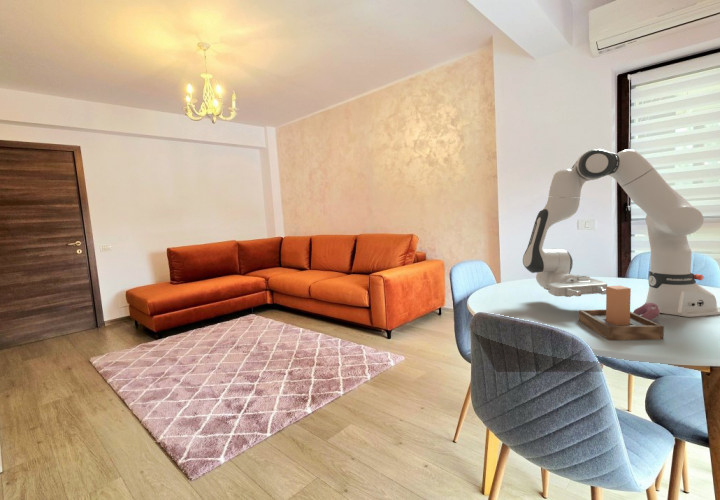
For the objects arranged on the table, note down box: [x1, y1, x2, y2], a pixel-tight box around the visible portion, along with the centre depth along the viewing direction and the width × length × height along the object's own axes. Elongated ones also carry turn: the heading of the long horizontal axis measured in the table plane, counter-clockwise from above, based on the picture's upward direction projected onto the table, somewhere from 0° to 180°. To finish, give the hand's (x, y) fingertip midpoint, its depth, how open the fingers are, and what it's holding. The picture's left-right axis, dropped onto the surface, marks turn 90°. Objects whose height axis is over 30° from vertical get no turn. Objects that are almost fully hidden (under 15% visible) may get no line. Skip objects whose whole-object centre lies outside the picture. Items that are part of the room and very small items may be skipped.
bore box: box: [578, 309, 665, 341], centre depth 111 cm, size 15×18×4 cm
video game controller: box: [632, 302, 661, 321], centre depth 119 cm, size 10×5×7 cm, turn 150°
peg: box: [605, 285, 632, 325], centre depth 111 cm, size 4×4×14 cm
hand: (592, 293), depth 122 cm, fingers open, 8 cm apart
